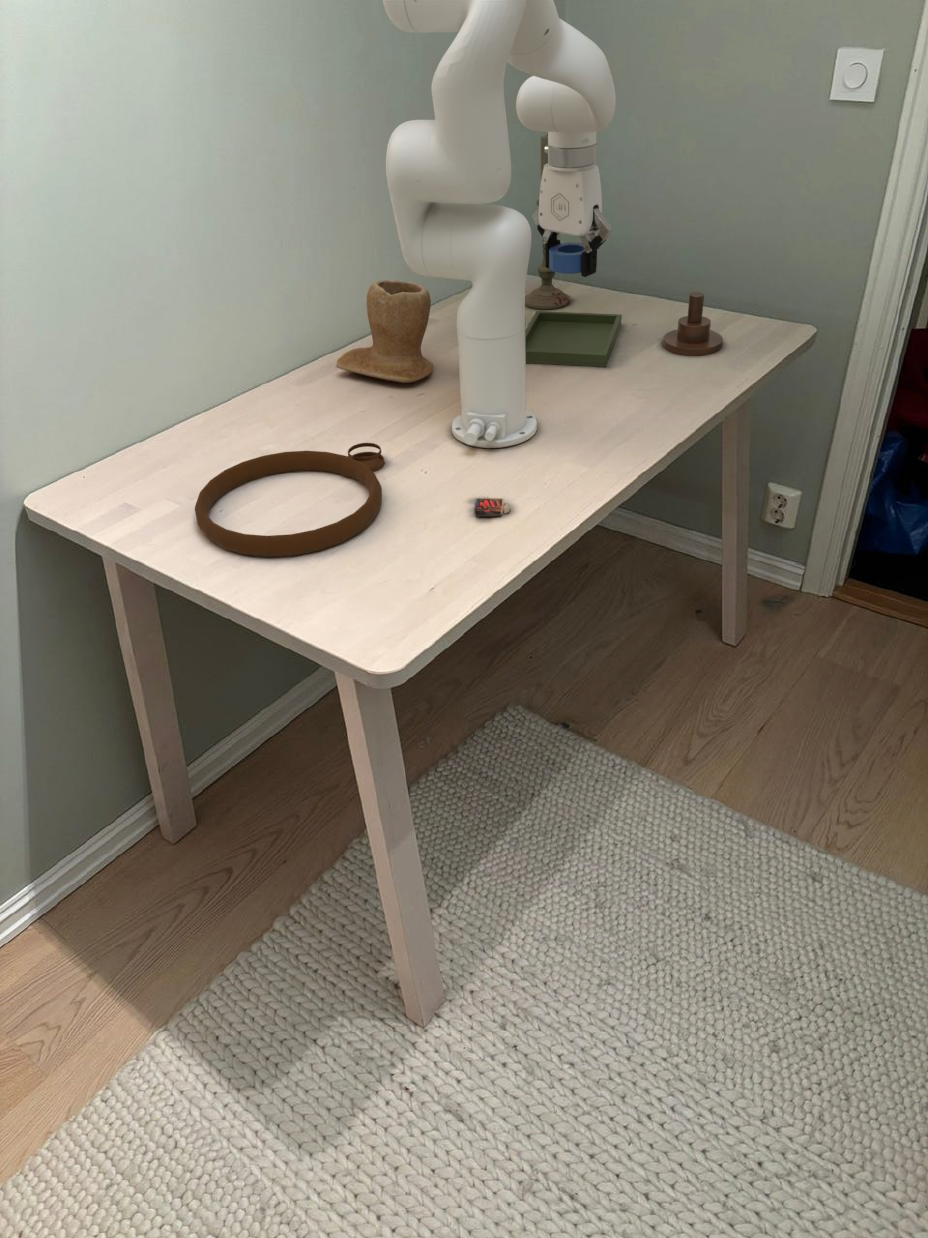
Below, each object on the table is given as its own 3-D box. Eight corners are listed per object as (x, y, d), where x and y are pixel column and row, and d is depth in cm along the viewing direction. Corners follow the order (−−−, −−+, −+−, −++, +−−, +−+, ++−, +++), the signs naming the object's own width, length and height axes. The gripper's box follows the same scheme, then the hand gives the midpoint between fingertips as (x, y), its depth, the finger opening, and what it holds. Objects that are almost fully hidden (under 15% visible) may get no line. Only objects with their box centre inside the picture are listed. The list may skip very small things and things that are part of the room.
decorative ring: (444, 456, 136) (293, 559, 117) (445, 476, 138) (296, 580, 119) (310, 419, 148) (152, 506, 129) (313, 437, 150) (158, 526, 131)
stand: (720, 357, 167) (726, 305, 162) (660, 354, 170) (663, 303, 165) (723, 335, 175) (729, 285, 170) (665, 333, 178) (669, 283, 172)
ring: (588, 274, 165) (588, 255, 163) (546, 272, 166) (546, 254, 165) (594, 261, 170) (595, 242, 168) (553, 259, 172) (553, 241, 170)
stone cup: (449, 368, 169) (444, 278, 161) (408, 393, 161) (401, 300, 153) (378, 353, 176) (369, 266, 168) (335, 377, 168) (324, 287, 160)
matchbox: (476, 519, 128) (476, 516, 128) (469, 500, 132) (469, 497, 132) (512, 515, 128) (512, 511, 128) (504, 496, 132) (504, 492, 132)
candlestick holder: (546, 313, 189) (547, 139, 171) (513, 302, 195) (510, 133, 177) (580, 300, 193) (583, 130, 176) (546, 290, 199) (546, 124, 182)
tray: (605, 367, 166) (606, 354, 165) (513, 362, 170) (513, 350, 169) (621, 325, 182) (621, 314, 180) (536, 321, 185) (536, 310, 184)
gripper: (514, 154, 161) (517, 266, 172) (600, 167, 151) (597, 286, 161) (545, 145, 165) (545, 255, 176) (631, 157, 155) (625, 274, 166)
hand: (570, 269), depth 169 cm, fingers closed on ring, 7 cm apart
